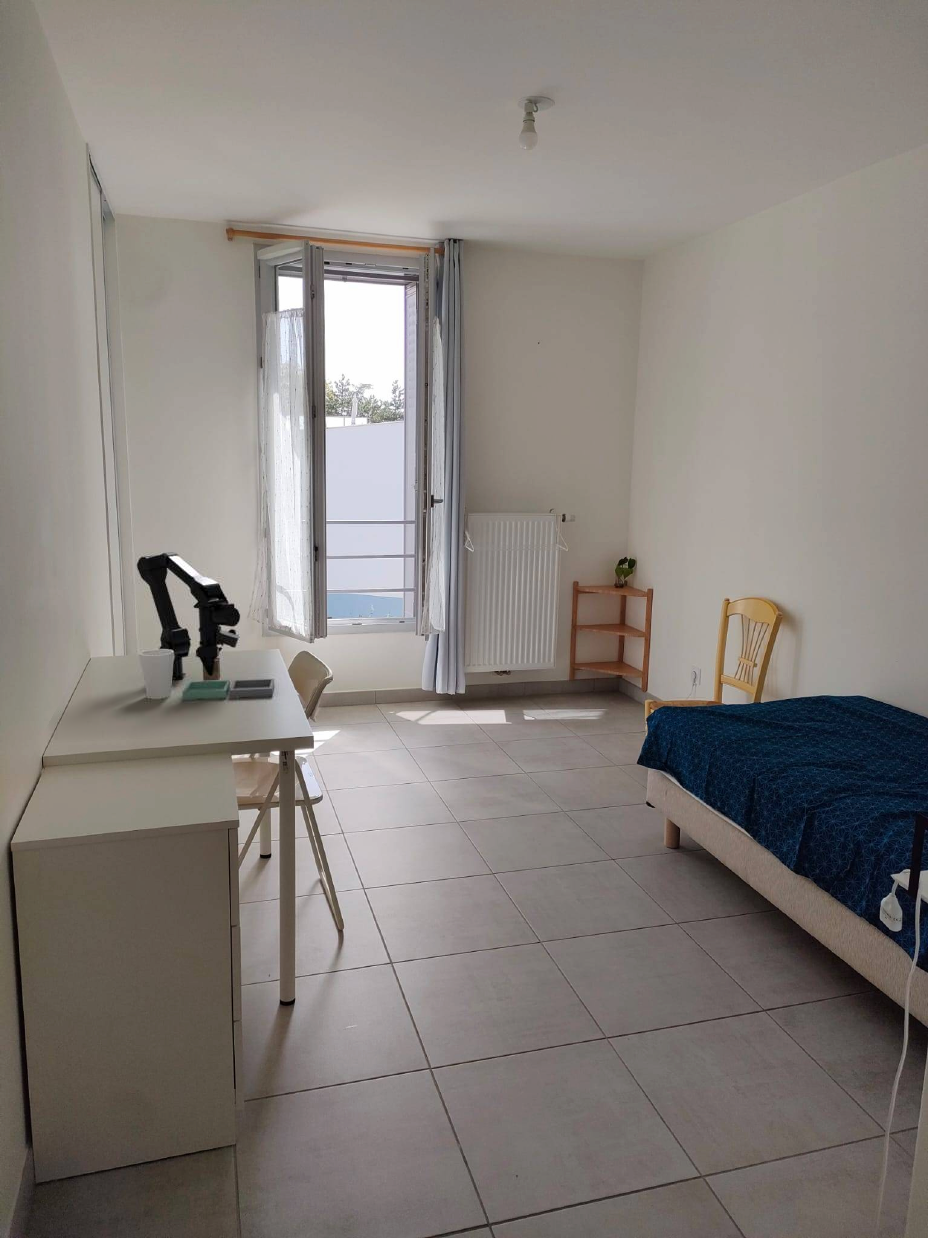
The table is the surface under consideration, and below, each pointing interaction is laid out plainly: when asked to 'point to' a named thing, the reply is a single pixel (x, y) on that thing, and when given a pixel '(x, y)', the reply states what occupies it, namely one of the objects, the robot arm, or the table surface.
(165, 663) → the foam cup
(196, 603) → the robot arm
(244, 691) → the tray
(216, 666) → the walnut block
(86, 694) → the table surface
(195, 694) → the tray
